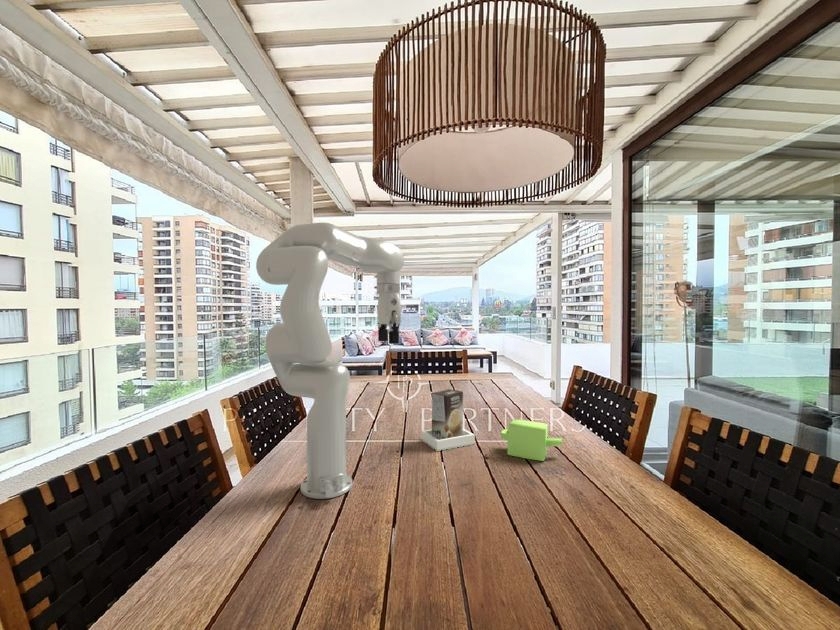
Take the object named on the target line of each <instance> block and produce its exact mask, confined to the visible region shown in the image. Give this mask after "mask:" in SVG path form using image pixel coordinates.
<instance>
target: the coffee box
mask: <svg viewBox="0 0 840 630" xmlns="http://www.w3.org/2000/svg"><path fill="white" fill-rule="evenodd" d="M463 394H464V392H463V391H462V390H456V389H443V390H439V391H434V392H432V393H431V429H432V436H433V437H435V438H436V439H438V440H441V439H446V438H452V437H458V436H462V434H463V429H464V428H463V422H464V421H463V418H464V416H463V415H464V414H463V413H464V412H463V411H464V409H463V407H464V395H463Z"/></svg>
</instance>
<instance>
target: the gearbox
mask: <svg viewBox="0 0 840 630" xmlns="http://www.w3.org/2000/svg"><path fill="white" fill-rule="evenodd" d="M548 428H549V427H548V423H545V422H544V423H543V422H539V421H538V422H537V421H531V420H523V419H513V420H512V421H510V422H509V423H508V428H507V429H503V430H501V432H500V439H502V440H506V441H507V455H508V456H513V457H517V458H521V459H527V460H535V461H539V462H541V461H542V462H544V461H545V460H546V456H547V452H548V447H560V446H563V440H562V438H548Z"/></svg>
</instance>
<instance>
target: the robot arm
mask: <svg viewBox="0 0 840 630" xmlns="http://www.w3.org/2000/svg"><path fill="white" fill-rule="evenodd" d="M329 261H334V262H336V263H339V264H342V265H345V266H350V267H358V268H359V269H360V270H361V271H362V272H364V273H366V274H375V273H376V295H378V298H377V329H378V330H377V331H378V332H377V335H378V336H377V337H378V340H377V341H378V342H387V341H388V344H390V345H398V344H399V342H400V326H401V324H402V309H401V299H400V298H401V297H400V293H401V286H400V284H401V283H400V281H401V280H400V279H401V278H400V277H401V275H400V274H401V273H400V271H401V270H402V268H403V266H404V265H405V257H404V254H403V252H402V250H401V249H400V248H399V247H398V246H397V245H395V244H392V243H391V242H389V241H385V240H381V239H376V238H370V237H368V236H367V237H366V236H361V235H356V234H354V233H352V232H350V231H348V230H345V229H343V228H341V227H339V226H337V225H335V224H332V223H330V222H312V223H311V222H310V223H304V224H296V225H294V226H291V227H289V228H288V229H287V230H286V231H283V232H282V233H281V234H280V235H279V236H277V238H276V239H274V240H273V241H272V242H270V244H268V245H267V246H266V247H264V248H263V250H261V252H259V254H258V256H257V259H256V263H255V265H256V266H255V270H256V273H257V275H258V276H259V278H260V279H261V280H262V282H265V283H267V284H270V285H273V286H274V285H275V286H277V285H278V286H280V285H281V286H284V285H285V286H286V285H287V286H286V288H285V291H284V293H283V295H282V298H281V301H280V303H279V304H280V305H279V312H280V316H281V320H282V323H278V324H275V325H273V326H272V327H271V328H270V329H269V330H268V332H267V335H266V336H265V337H266V338H265V341H264V343H265V344H264V345H265V353H266V355H267V359H268V361H269V363H270V365H271V367H272V369H273V371H274V374H275V376H276V378H277V380H278V383H279V385H280V386H281V388H282V390H283V391H284V392H285V393H286V394H288V395H290V396H293V397H299V398H307V399H308V398H309V399H313V400H314V402H313V404H312V405H311V407H310V408H309V410H308V412H307V415H306V478H305V479H303V481H302V482H301V483H300V487H299V491H300V492H301V494H303V496H305V497H306V498H310V499H316V500H325V499H326V500H327V499H332V498H337V497H340V496H342V495H344V494H346V493H347V492H349V491H350V490H351V489H352V487H353V478H352V477H351V475H349V474H347V403H348V402H347V401H348V393H349V390H350V383H351V375H350V371H349V370H348V369H349V368H348V367H347V366H345V365H344V364H343V363H341V362H338V361H334V360H328V359H329V358H330V357H331V356H332V353H333V345H332V340H331V337H330V334H329V332H328V331H329V330H328V328H327V325H326V322H325V319H324V317H323V313H322V311H321V307H320V303H319V300H320V293H321V289H322V286H323V284H324V281H325V279H326V276H327V273H328V269H329ZM388 328H389V330H388Z"/></svg>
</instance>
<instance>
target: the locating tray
mask: <svg viewBox="0 0 840 630" xmlns="http://www.w3.org/2000/svg"><path fill="white" fill-rule="evenodd" d="M421 441H422V442H423V441H424V443H425V444H426V443H427V444H428V445H427V444H426V445H427V446H429V447H430V446H431V447H430V448H431V449H432V450H434V449H435V450H434V451H435V452H437V451H438V452H441V450H443V451H447V450H446V449H448V450H453V449H457V447H459V448H464V447H469V446H474V445H473V444H476V435H475V433H472V432H471V431H469V430H467V429H465V428H463V434H462V436H458V437H452V438H446V439H441V440H438V439H436V438H435V437H433V436H432V428H431V429H424V430H421ZM468 445H469V446H468ZM463 446H464V447H463ZM452 448H453V449H452Z"/></svg>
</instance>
